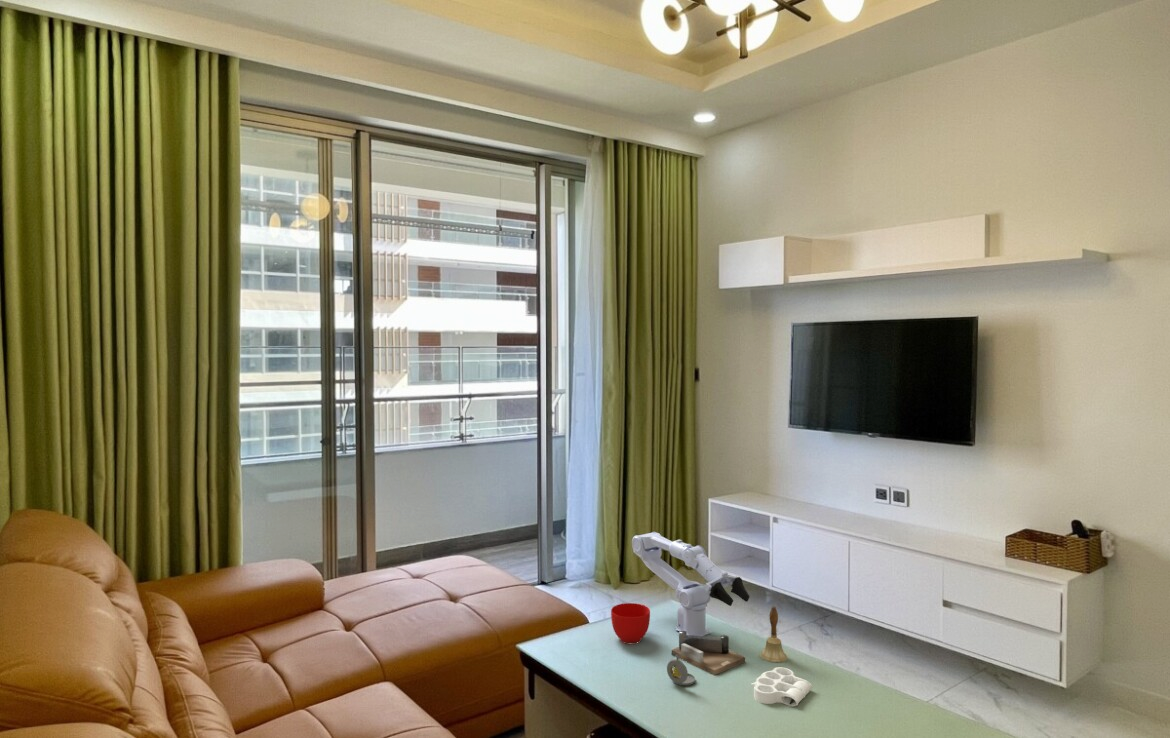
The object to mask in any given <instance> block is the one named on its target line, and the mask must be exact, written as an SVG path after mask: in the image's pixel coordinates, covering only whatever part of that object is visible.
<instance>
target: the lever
mask: <svg viewBox="0 0 1170 738" xmlns="http://www.w3.org/2000/svg"><path fill="white" fill-rule="evenodd" d="M729 642H730V636H729V635H725V634H721V635H720V637H717V636H716V637H715V636H707V635H705V636H694V635H687V632H686V631H679V632H678V647H679V649H680V650H681V644H683V643H685V644H687V645H689V646H691V647H694V648H696V649H698V650H700V651H704V652H715V653H723V654H727V653H729V650H730V645H729V644H730V643H729Z"/></svg>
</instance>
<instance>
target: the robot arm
mask: <svg viewBox="0 0 1170 738" xmlns="http://www.w3.org/2000/svg"><path fill="white" fill-rule="evenodd" d="M631 548H632V550H633V553H634V554H635V555H636V556H638V558H639V559H641V561H642V562H643V563H644V565H645V566H646V567H647V568H648V569H649V570H650V571H651V572H652V573H654V574H655V575H656V576H657V577H658V578H660V579H661V580H662V581H663V582H664V583H666V585H668V586H669V587H671V588H672V589H673V590H674V591H675V598H676V599H677V600H678V601H679V603H680V604H679V605H678V608H677V611H676V612H677V615H676V617H677V618H676V619H677V620H676V622H677V623H676V624H677V625H676V627H677V628H675V631H676V630H677V631H676V632H678V631H686V632H687V635H694V636H707V635H710V634H712V631H710V630H709V629H706V628H707V627H706V625H707V624H706V619H707V616H706V614H707V613H706V612H707V611H706V607H708V603H709V602H710V601H711V598H712V599H716V600H719V601H720V602H722V603H724V604H725V605H727V606H729V607H732V606H733V605H732V604H733V602H734V599H733V598H732V596H731V595H730V594H729V593H728V592H727V590H726V588H727V587H729V586H731V591H730V593H733V595H737V596H738V598H740V599H742V600H743V601H744V602H747V603H748V601H749V600H750V594H749V593H748V592H747V590H746V587H745V585H744V584H743V583H744V582H743V580H742V578H741V576H737V575H736V576H733V575H730V574H729V575H728V572H727V571H725V572H724V571H722V569H720V568H719V566H718V565H716V564H715V563H714V562H713V561H712V560H711V559H710V558H709V557H708V556H707V552H706V550H705V549H704V548H703V546H701V545H700V544H699V545H696V546H693V545H692V544H691V543H686V542H683V540H682V539H677V540H674V541H673V540H669V539H668V538H666V537H664V536H663V535H661V534H660V533H659V532H656V531H652V532H650V533H644V534H639V535H634V536H633V537H632V539H631ZM662 550H664V551H668V552H669V554H670V555H671V557H674V558H676V559H679V560H681V561H683V562H684V563H685V564H684V565H685V566H687V567H690V568H692V569H693V570H696V571H697V573H699V575H701V576H702V577H703V578H704V580H706V581H707V582H706V583H705V584H702V583H699V581H693V580H689V579H688V578H686V577H685V576H683V575H682V573H680V572H678V571H677V570H676V569H674V568H673V567H672V566H671V565H670V564H668V563H667V562H666V561H665V560H664V559H662V558H661V556H662V554H663V553H662Z"/></svg>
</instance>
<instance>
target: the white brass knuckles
mask: <svg viewBox="0 0 1170 738" xmlns="http://www.w3.org/2000/svg"><path fill="white" fill-rule="evenodd" d="M750 684H751V685H752V686H753V699H754V700H755V701H756V702H758V703H761V704H764V705H766V704H767V705H773V704H775V703H781V704H784V705H786V706H789V707H797V706H798V705H799V703H800V702H801V701H802V700H803V699H804V698H806V696H807V694H808V693H810V691H812V690H813V685H812V683H811V682H810V681H808V680H806V679H804V678H801V677H798V676H795V674H794V671H793V670H791V669H789V668H787V667H781V666H780V667H779V666H778V667H774V668H773V669H772V670H769V671H767V670H766V671H765V672H762V673H761V675H759V677H756V680H755V682H752V683H750ZM792 700H794V701H793V702H792ZM791 702H792V703H791ZM790 703H791V704H790Z"/></svg>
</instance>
